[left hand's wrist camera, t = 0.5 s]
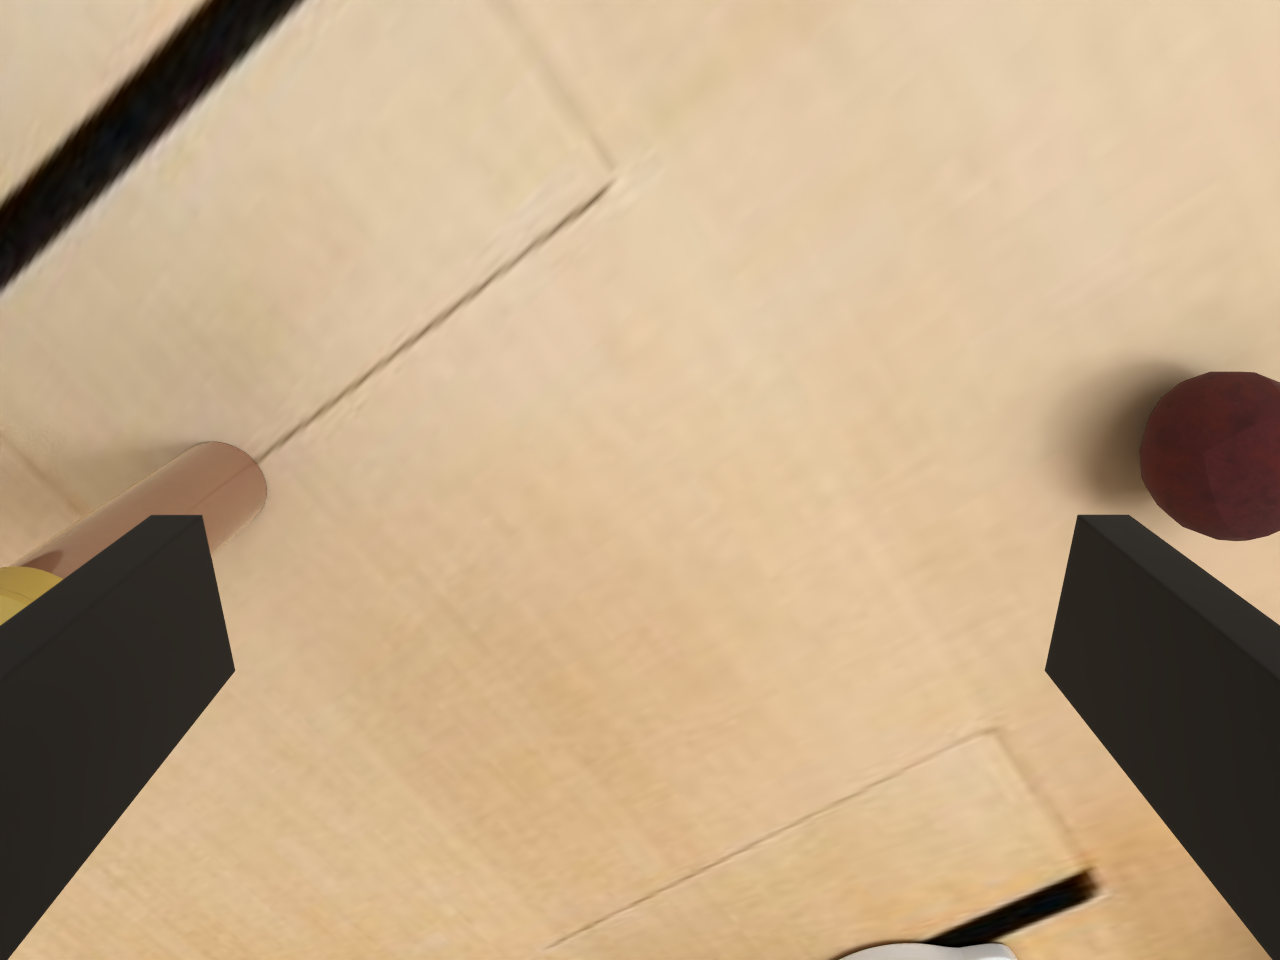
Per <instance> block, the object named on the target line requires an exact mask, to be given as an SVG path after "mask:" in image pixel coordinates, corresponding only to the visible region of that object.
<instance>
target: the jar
mask: <svg viewBox="0 0 1280 960" xmlns="http://www.w3.org/2000/svg"><path fill="white" fill-rule="evenodd" d="M266 495H267V487H266V482H265V478H264V476H263V473H262V471H261V470H260V468H259V466H258V465H257V464H256V462H255V461H254V460H253V459H252V458H251V457H250V456H248V455H247V454H246V453H245V452H243V451H242V450H240V449H238V448H236V447H234V446H231V445H229V444H225V443H219V442H207V443H201V444H198V445H196V446H193V447H192V448H190V449H188V450H187V451H185V452H184V453H182V454H181V455H179V456H178V457H176V458H175V459H173V460H171V461H170V462H168V463H167V464H165V465H164V466H162V467H161V468H159V469H158V470H156V471H154V472H153V473H151V474H150V475H148V476H147V477H145V478H144V479H142V480H141V481H139V482H138V483H136V484H134V485H133V486H131V487H130V488H128V489H127V490H125V491H124V492H122V493H121V494H119V495H117V496H116V497H114V498H113V499H111V500H110V501H108V502H107V503H105V504H104V505H102V506H101V507H99V508H97V509H96V510H94V511H93V512H91V513H90V514H88V515H87V516H85V517H84V518H82V519H80V520H79V521H77V522H76V523H74V524H73V525H71V526H70V527H68V528H67V529H65V530H64V531H62V532H60V533H59V534H57V535H56V536H54V537H53V538H51V539H50V540H48V541H47V542H45V543H43V544H42V545H40V546H39V547H37V548H36V549H34V550H33V551H31V552H30V553H28V554H27V555H25V556H23V557H22V558H20V559H19V560H17V561H16V562H14V563H13V564H11V565H10V566H8V567H12V566H16V567H29V568H35V569H39V570H43V571H46V572H49V573H52V574H54V575H56V576H58V577H60V578H62V579H64V578H66V577H67V576H69V575H70V574H71V573H73V572H74V571H75V570H77V569H78V568H79V567H81V566H82V565H84V564H85V563H86V562H88V561H89V560H90V559H92V558H93V557H94V556H96V555H97V554H99V553H100V552H101V551H103V550H104V549H105V548H107V547H108V546H109V545H111V544H112V543H114V542H115V541H116V540H118V539H119V538H120V537H122V536H123V535H124V534H126V533H127V532H129V531H130V530H131V529H133V528H134V527H135V526H137V525H138V524H139V523H141V522H142V521H144V520H145V519H146V518H148V517H149V516H150V515H202V516H203V520H204V525H205V530H206V535H207V539H208V544H209V549H210V554H211V558H212V557H213V556H214V555H215V554H216V553H217V552H218V551H219V550H220V549H221V548H222V547H223V546H225V545H226V544H227V543H228V542H229V541H230V540H231V539H232V538H233V537H234V536H235V535H236V534H237V533H238V532H240V531H241V530H242V529H243V528H244V527H245V526H246V525H247V524H248V523H249V522H250V521H251V520H252V519H253V518H254V517H256V516H257V514H258V513H259V512H260V511H261V509H262V508H263V506H264V504H265V500H266Z"/></svg>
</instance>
